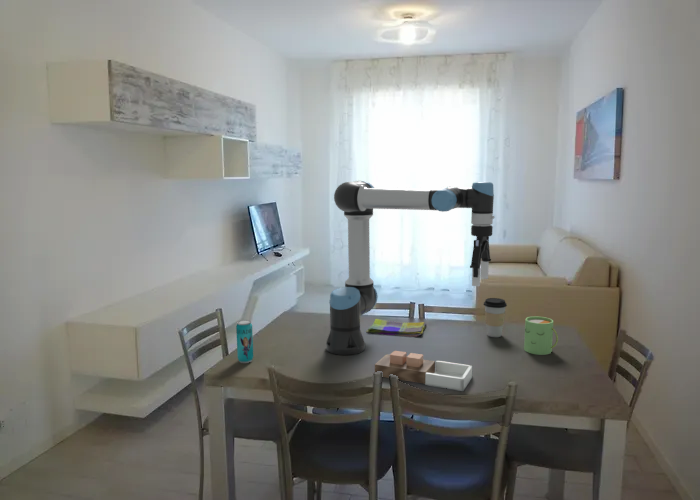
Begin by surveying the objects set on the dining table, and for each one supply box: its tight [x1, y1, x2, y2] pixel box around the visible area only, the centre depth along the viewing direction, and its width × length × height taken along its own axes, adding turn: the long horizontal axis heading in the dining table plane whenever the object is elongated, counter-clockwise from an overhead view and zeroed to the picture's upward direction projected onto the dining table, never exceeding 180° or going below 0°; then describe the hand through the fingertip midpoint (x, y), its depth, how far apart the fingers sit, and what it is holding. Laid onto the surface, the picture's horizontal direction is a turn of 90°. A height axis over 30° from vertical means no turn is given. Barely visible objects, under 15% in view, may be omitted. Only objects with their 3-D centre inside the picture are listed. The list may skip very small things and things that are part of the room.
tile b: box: [406, 352, 424, 367], centre depth 188 cm, size 4×4×3 cm
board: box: [374, 353, 436, 385], centre depth 190 cm, size 18×11×4 cm, turn 65°
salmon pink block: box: [389, 350, 408, 365], centre depth 190 cm, size 4×4×3 cm
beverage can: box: [235, 319, 254, 364], centre depth 203 cm, size 6×6×15 cm
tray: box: [424, 360, 474, 392], centre depth 183 cm, size 12×13×4 cm
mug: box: [523, 315, 559, 356], centre depth 211 cm, size 13×10×12 cm
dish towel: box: [365, 318, 427, 338], centre depth 241 cm, size 18×24×3 cm
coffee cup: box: [483, 297, 508, 338], centre depth 230 cm, size 9×9×15 cm
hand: (480, 282), depth 204 cm, fingers open, 13 cm apart
